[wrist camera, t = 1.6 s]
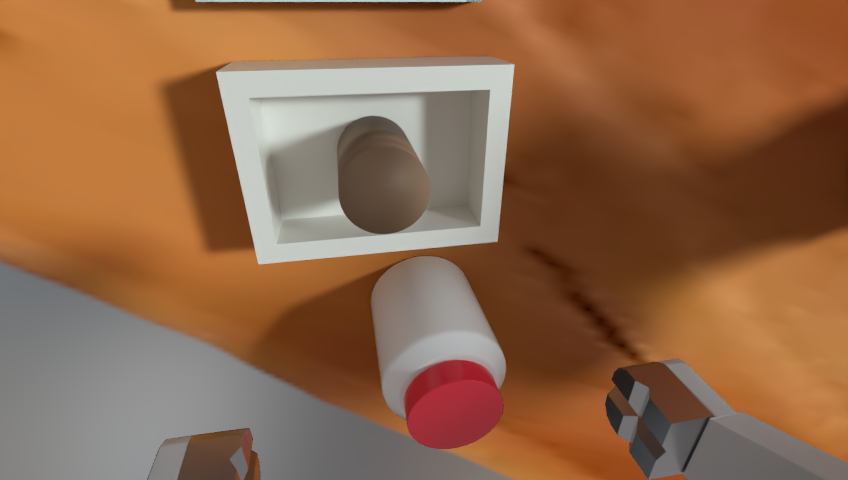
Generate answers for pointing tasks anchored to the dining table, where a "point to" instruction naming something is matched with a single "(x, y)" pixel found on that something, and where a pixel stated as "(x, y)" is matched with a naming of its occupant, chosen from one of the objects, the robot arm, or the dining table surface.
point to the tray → (338, 0)
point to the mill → (380, 176)
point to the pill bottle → (436, 353)
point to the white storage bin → (329, 116)
